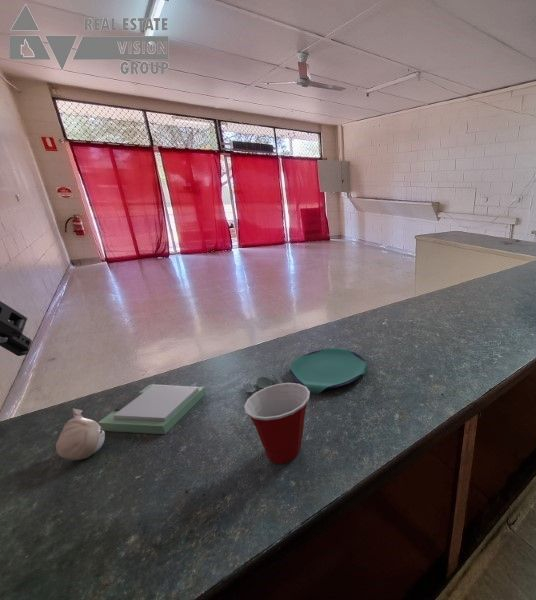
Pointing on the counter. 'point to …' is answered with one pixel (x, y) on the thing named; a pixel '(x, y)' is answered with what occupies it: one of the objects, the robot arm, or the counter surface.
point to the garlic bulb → (79, 438)
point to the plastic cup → (279, 419)
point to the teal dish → (321, 370)
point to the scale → (153, 409)
